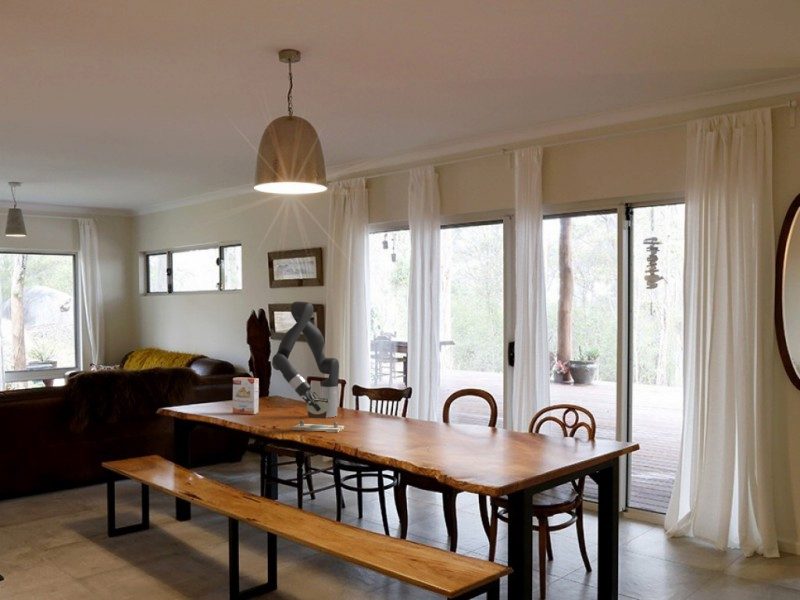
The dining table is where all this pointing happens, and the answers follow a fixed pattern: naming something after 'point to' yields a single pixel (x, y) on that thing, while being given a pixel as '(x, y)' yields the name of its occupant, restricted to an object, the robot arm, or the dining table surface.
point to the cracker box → (245, 395)
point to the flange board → (318, 427)
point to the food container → (322, 412)
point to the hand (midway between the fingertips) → (321, 409)
